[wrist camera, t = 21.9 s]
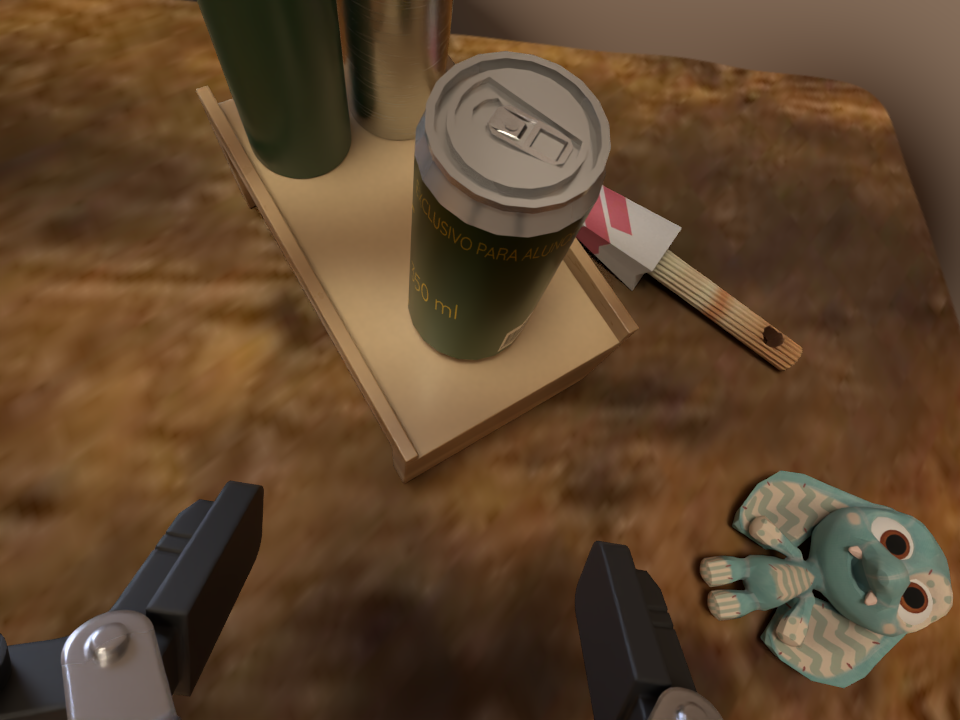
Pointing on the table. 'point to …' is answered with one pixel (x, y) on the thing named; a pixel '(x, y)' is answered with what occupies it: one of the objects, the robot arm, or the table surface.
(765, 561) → the stuffed animal
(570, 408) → the table surface
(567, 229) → the beer can
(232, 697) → the table surface
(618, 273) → the paintbrush
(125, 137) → the table surface
